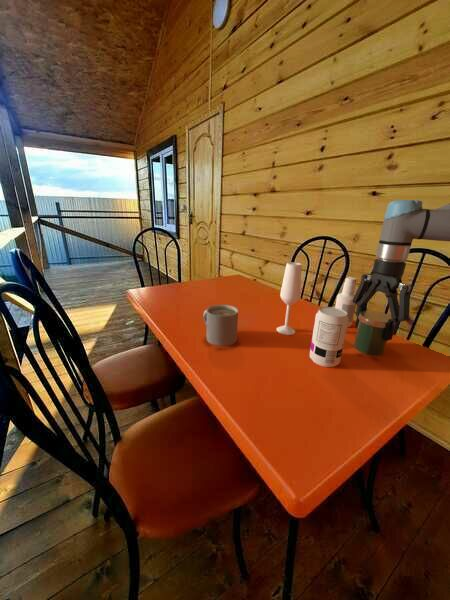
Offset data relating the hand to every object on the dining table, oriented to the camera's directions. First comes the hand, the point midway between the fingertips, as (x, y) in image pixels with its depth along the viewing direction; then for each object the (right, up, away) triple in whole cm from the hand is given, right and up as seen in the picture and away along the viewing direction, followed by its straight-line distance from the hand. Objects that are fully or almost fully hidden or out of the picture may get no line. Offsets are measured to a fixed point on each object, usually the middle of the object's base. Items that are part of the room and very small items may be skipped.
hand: (372, 332), depth 78 cm
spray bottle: (-1, +1, +19) cm, 19 cm away
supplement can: (-17, -7, -5) cm, 19 cm away
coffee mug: (-47, -2, +6) cm, 48 cm away
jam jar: (0, -5, +2) cm, 6 cm away
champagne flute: (-24, -1, +12) cm, 27 cm away
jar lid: (0, +5, -2) cm, 5 cm away
